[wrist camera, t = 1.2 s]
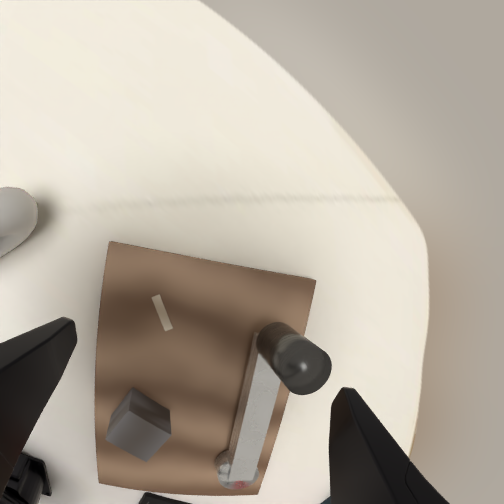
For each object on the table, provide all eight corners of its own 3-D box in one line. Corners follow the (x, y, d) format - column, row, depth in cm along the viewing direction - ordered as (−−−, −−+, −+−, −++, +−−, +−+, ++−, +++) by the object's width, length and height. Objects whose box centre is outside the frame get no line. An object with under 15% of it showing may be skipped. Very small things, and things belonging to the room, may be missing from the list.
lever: (248, 474, 27) (274, 532, 19) (211, 474, 26) (230, 536, 17) (289, 315, 27) (342, 349, 18) (245, 309, 26) (284, 345, 17)
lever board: (255, 488, 29) (268, 516, 24) (100, 476, 24) (94, 507, 19) (310, 278, 29) (338, 287, 24) (111, 241, 24) (98, 243, 19)
